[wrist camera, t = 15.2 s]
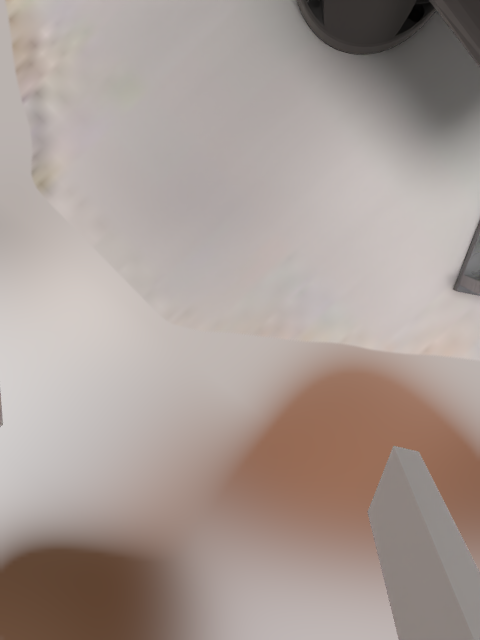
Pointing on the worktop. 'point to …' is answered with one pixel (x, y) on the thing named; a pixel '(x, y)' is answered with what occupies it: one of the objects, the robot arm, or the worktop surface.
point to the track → (470, 268)
